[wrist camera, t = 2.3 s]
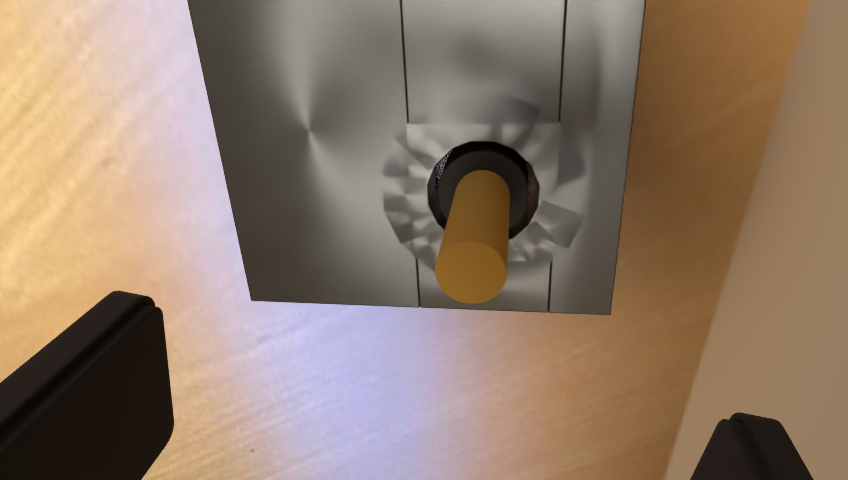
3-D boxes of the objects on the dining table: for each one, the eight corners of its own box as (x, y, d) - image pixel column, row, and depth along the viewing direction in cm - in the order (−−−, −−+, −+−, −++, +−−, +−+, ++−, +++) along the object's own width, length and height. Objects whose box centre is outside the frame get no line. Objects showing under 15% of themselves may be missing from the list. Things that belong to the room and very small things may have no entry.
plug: (529, 135, 26) (534, 219, 18) (526, 215, 28) (530, 326, 19) (442, 135, 27) (407, 217, 18) (445, 214, 28) (414, 321, 20)
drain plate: (647, -130, 21) (662, -140, 19) (603, 288, 29) (610, 315, 27) (197, -96, 24) (165, -102, 22) (269, 277, 32) (250, 301, 29)
